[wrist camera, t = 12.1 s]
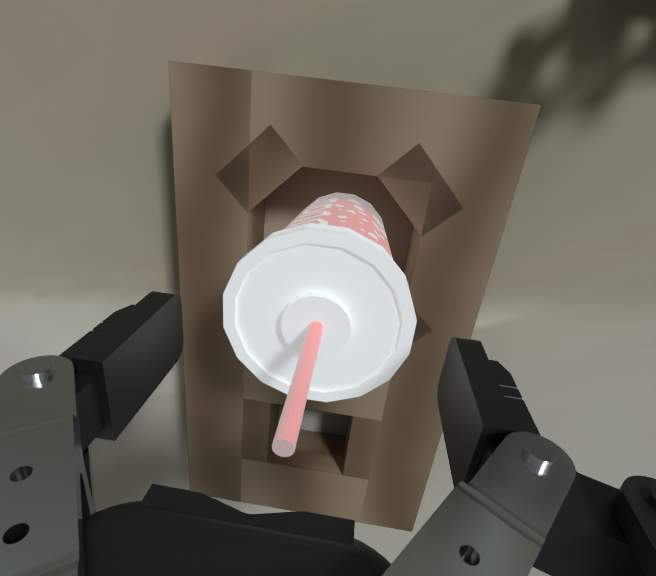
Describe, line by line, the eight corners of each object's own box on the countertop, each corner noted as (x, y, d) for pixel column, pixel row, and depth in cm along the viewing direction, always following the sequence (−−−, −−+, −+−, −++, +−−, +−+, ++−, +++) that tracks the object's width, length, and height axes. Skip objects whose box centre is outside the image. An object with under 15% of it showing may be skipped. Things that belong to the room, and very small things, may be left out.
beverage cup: (399, 171, 19) (442, 306, 6) (402, 289, 22) (438, 554, 9) (273, 181, 20) (94, 319, 7) (290, 294, 22) (177, 541, 10)
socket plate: (515, 104, 17) (541, 105, 15) (408, 489, 28) (411, 531, 25) (199, 66, 18) (168, 60, 15) (207, 455, 28) (190, 492, 26)
